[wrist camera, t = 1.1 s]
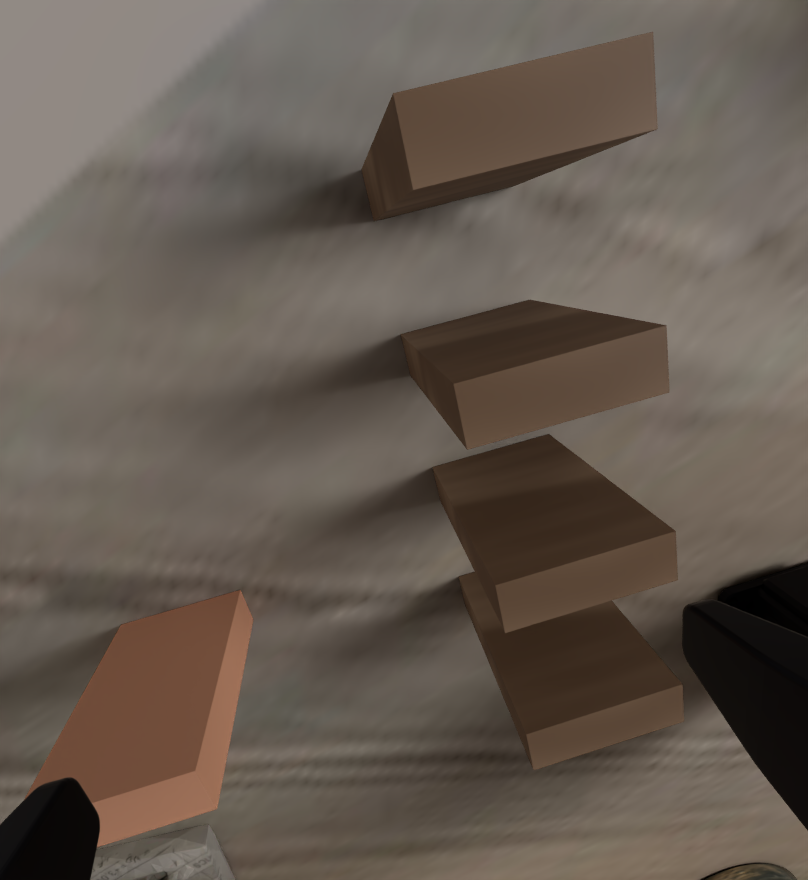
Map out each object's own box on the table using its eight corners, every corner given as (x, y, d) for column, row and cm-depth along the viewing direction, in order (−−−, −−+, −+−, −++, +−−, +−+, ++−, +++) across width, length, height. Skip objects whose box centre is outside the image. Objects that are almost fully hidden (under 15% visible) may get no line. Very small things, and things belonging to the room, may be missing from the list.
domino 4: (553, 468, 21) (677, 579, 14) (440, 501, 21) (505, 633, 14) (548, 433, 21) (675, 531, 13) (432, 467, 20) (495, 585, 13)
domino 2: (513, 185, 17) (657, 128, 10) (373, 221, 17) (413, 189, 10) (506, 134, 17) (652, 31, 9) (361, 169, 17) (393, 93, 9)
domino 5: (568, 573, 23) (684, 721, 16) (465, 604, 23) (533, 770, 16) (564, 545, 23) (682, 684, 15) (458, 576, 22) (526, 734, 15)
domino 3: (535, 341, 19) (669, 392, 12) (410, 375, 19) (467, 449, 12) (530, 299, 19) (666, 325, 11) (400, 334, 18) (453, 383, 11)
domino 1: (253, 619, 22) (216, 809, 14) (137, 654, 21) (37, 866, 14) (240, 589, 21) (195, 771, 14) (121, 624, 21) (7, 829, 13)
